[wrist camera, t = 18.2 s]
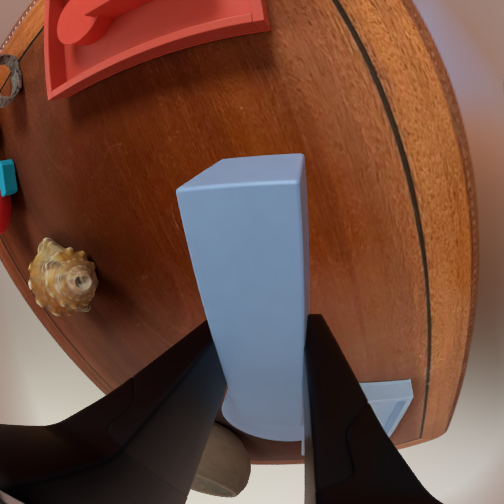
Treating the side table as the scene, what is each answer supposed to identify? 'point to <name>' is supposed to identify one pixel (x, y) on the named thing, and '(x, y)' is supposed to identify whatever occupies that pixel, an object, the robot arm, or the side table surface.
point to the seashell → (62, 279)
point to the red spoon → (90, 19)
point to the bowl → (222, 465)
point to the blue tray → (387, 402)
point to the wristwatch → (15, 78)
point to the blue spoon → (254, 284)
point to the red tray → (143, 38)
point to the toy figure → (6, 192)
